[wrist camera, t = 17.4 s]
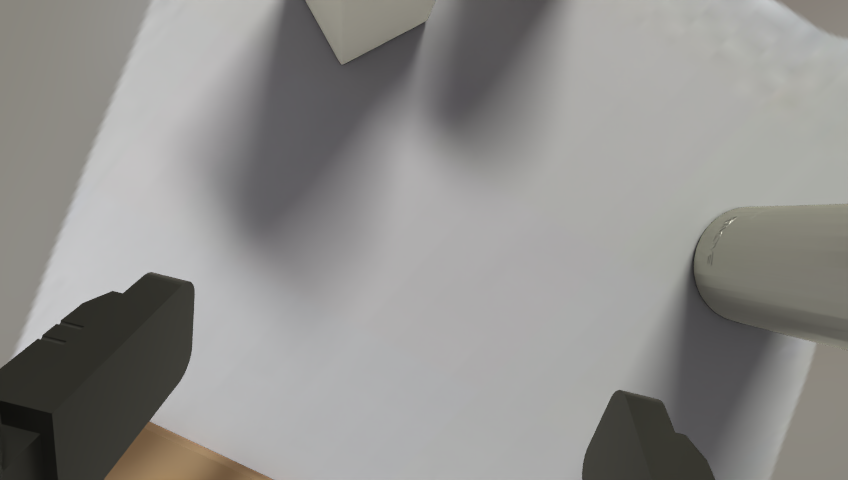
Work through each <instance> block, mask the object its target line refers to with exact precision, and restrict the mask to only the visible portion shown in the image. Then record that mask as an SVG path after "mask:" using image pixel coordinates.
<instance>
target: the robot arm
mask: <svg viewBox="0 0 848 480" xmlns="http://www.w3.org/2000/svg"><path fill="white" fill-rule="evenodd" d="M694 275H695V280H696V285H697V287H698V290H699V292H700V294H701V296H702V298H703V299H704V301H705V302H706V304H707V305H708V306H709V307H710V308H711V309H712V310H713V311H714V312H715V313H717V314H719V315H720V316H722V317H724V318H726V319H729V320H732V321H736V322H739V323H743V324H747V325H751V326H755V327H758V328H762V329H766V330H769V331H773V332H777V333H781V334H785V335H789V336H793V337H796V338H800V339H804V340H808V341H812V342H816V343H820V344H824V345H828V346H832V347H835V348H839V349H843V350H847V351H848V204H829V205H797V206H761V207H743V208H736V209H733V210H731V211H728V212H726V213H724V214H722V215H721V216H719V217H718V218H716V219H715V220H714V221H713V222H712V223H711V224H710V225H709V226H708V227H707V229H706V230H705V232H704V233H703V235H702V236H701V238H700V241H699V243H698V246H697V248H696V253H695V258H694ZM193 315H194V286H193V284H192V283H191V282H189V281H185V280H181V279H177V278H173V277H169V276H165V275H161V274H157V273H153V272H150V273H147V274H145V275H144V276H143V277H142V278H141V279H139V280H138V281H137V282H136V283H135V284H133V285H132V286H131V287H130V288H129V289H128V290H126V291H125V292H124V293H123V294H122V293H118V292H114V291H112V292H109V293H107V294H104V295H102V296H99V297H97V298H94V299H92V300H89V301H87V302H85V303H82V304H81V305H80V306H79V307H77V308H76V309H75V310H74V311H72V312H71V313H70V314H69V315H67V316H66V317H65V318H64V319H62V320H61V323H60V324H59V325H58V324H56V325H55V326H53V327H52V328H51V329H50V330H48V331H47V332H46V333H45V334H43V336H42V339H41V340H40V339H37V340H36V341H35V342H33V343H32V344H31V345H30V346H28V347H27V348H26V349H24V350H23V351H22V352H21V353H19V354H18V355H17V356H16V357H14V358H13V359H12V360H11V361H9V362H8V363H7V364H6V365H4V366H3V367H2V368H1V369H0V480H104V479H105V477H106V476H107V475H108V473H109V472H110V471H111V470H112V468H113V467H114V466H115V464H116V463H117V462H118V460H119V459H120V458H121V457H122V455H123V454H124V453H125V451H126V450H127V449H128V448H129V446H130V445H131V444H132V442H133V441H134V440H135V439H136V437H137V436H138V435H139V433H140V432H141V431H142V430H143V428H144V427H145V426H146V424H147V423H148V422H149V421H150V419H151V418H152V417H153V415H154V414H155V413H156V412H157V410H158V409H159V408H160V406H161V405H162V404H163V403H164V401H165V400H166V399H167V397H168V396H169V395H170V394H171V392H172V391H173V390H174V388H175V387H176V386H177V385H178V383H179V382H180V380H181V379H182V377H183V375H184V373H185V371H186V369H187V366H188V364H189V360H190V356H191V351H192V336H193ZM582 480H715V478H714V476H713V473H712V471H711V469H710V467H709V464H708V462H707V460H706V459H705V458H704V456H703V455H702V454H701V453H700V452H699V451H698V449H697V448H696V447H695V446H694V445H693V443H692V442H691V441H690V440H689V439H688V438H687V436H686V435H683V434H679V433H675V431H674V428H673V426H672V423H671V421H670V418H669V416H668V413H667V411H666V408H665V406H664V404H663V403H662V401H660V400H658V399H654V398H650V397H646V396H642V395H638V394H634V393H630V392H626V391H622V390H618V391H616V392H615V393H614V394H613V396H612V397H611V399H610V401H609V403H608V405H607V408H606V410H605V412H604V414H603V416H602V418H601V420H600V423H599V425H598V427H597V429H596V431H595V433H594V435H593V438H592V440H591V442H590V444H589V446H588V448H587V451H586V454H585V458H584V463H583V471H582Z"/></svg>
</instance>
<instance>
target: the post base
mask: <svg viewBox="0 0 848 480" xmlns="http://www.w3.org/2000/svg"><path fill="white" fill-rule="evenodd" d="M104 480H273V479H271V478H269V477H267V476H264V475H262V474H260V473H258V472H256V471H254V470H252V469H250V468H247V467H245V466H243V465H241V464H239V463H237V462H235V461H232V460H230V459H228V458H226V457H224V456H222V455H220V454H218V453H215V452H213V451H211V450H209V449H207V448H205V447H203V446H200V445H198V444H196V443H194V442H192V441H190V440H188V439H185V438H183V437H181V436H179V435H177V434H175V433H173V432H171V431H168V430H166V429H164V428H162V427H160V426H158V425H156V424H153V423H151V422H148V423H147V424H146V426H145V427H144V428H143V430H142V431H141V432H140V433H139V435H138V436H137V437H136V439H135V440H134V441H133V442H132V444H131V445H130V446H129V448H128V449H127V450H126V451H125V453H124V454H123V455H122V457H121V458H120V459H119V460H118V462H117V463H116V464H115V466H114V467H113V468H112V470H111V471H110V472H109V473H108V475H107V476H106V477H105V479H104Z"/></svg>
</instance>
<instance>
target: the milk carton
mask: <svg viewBox="0 0 848 480" xmlns="http://www.w3.org/2000/svg"><path fill="white" fill-rule="evenodd" d="M305 1H306V3H307V5H308V6H309V8H310V10H311V12H312V14H313V15H314V17H315V19H316V21H317V23H318V24H319V26H320V28H321V30H322V32H323V33H324V35H325V37H326V39H327V41H328V42H329V44H330V46H331V48H332V50H333V51H334V53H335V55H336V57H337V58H338V60H339V62H340V63H341V64H342V65H343V64H345V63H347V62H349V61H351V60H353V59H355V58H357V57H359V56H361V55H362V54H364V53H366V52H368V51H370V50H372V49H374V48H376V47H378V46H380V45H382V44H383V43H385V42H387V41H389V40H391V39H393V38H395V37H397V36H399V35H401V34H402V33H404V32H406V31H408V30H410V29H412V28H414V27H416V26H418V25H420V24H422V23H423V22H425V21H427V20H428V18H429V15H430V13H431V11H432V8H433V6H434V4H435V1H436V0H305Z"/></svg>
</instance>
